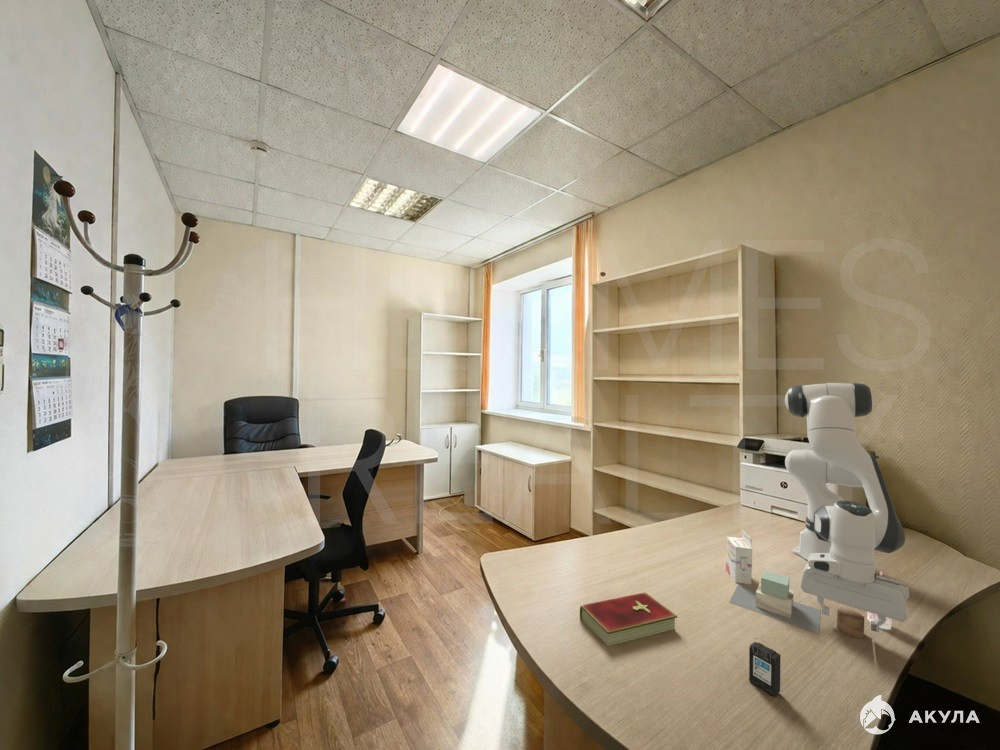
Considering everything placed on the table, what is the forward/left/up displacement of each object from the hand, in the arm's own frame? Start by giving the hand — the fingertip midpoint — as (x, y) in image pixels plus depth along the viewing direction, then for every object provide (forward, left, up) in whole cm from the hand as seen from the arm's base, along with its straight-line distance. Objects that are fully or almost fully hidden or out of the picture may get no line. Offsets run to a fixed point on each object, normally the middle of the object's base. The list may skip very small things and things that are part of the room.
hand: (849, 622), depth 102 cm
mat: (0, -16, -3) cm, 16 cm away
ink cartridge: (+37, -14, -3) cm, 39 cm away
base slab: (0, -16, -2) cm, 16 cm away
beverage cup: (-11, +6, -3) cm, 13 cm away
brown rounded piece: (0, 0, -3) cm, 3 cm away
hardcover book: (+36, -43, -4) cm, 56 cm away
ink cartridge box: (-12, -27, -3) cm, 30 cm away
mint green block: (0, -16, +2) cm, 16 cm away
